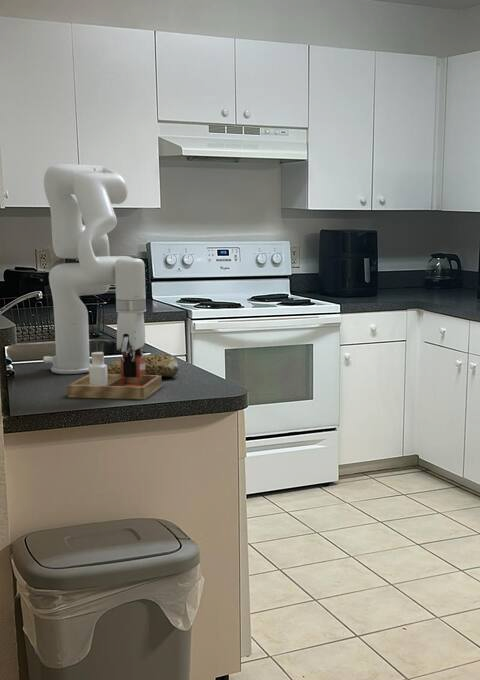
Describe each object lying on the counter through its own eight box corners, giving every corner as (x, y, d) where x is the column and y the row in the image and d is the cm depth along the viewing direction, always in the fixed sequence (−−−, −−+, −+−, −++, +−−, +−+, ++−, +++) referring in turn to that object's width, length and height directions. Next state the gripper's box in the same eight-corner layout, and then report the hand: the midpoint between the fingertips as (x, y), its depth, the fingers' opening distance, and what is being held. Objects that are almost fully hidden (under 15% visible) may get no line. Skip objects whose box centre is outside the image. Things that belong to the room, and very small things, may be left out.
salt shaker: (89, 389, 236) (87, 354, 234) (93, 386, 240) (92, 351, 238) (104, 389, 236) (103, 354, 234) (108, 386, 240) (107, 351, 238)
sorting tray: (67, 397, 230) (67, 385, 230) (90, 384, 246) (89, 373, 246) (144, 399, 229) (144, 387, 228) (161, 386, 245) (161, 375, 244)
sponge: (169, 376, 264) (101, 367, 256) (175, 351, 262) (106, 341, 254) (178, 393, 253) (107, 384, 245) (184, 367, 251) (113, 357, 243)
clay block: (121, 377, 234) (120, 358, 233) (127, 373, 239) (126, 355, 238) (139, 377, 234) (139, 358, 233) (145, 374, 239) (145, 355, 238)
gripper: (127, 302, 242) (129, 368, 245) (105, 309, 225) (108, 380, 228) (154, 302, 241) (156, 369, 244) (135, 310, 225) (137, 381, 228)
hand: (133, 374), depth 236 cm, fingers closed on clay block, 5 cm apart
